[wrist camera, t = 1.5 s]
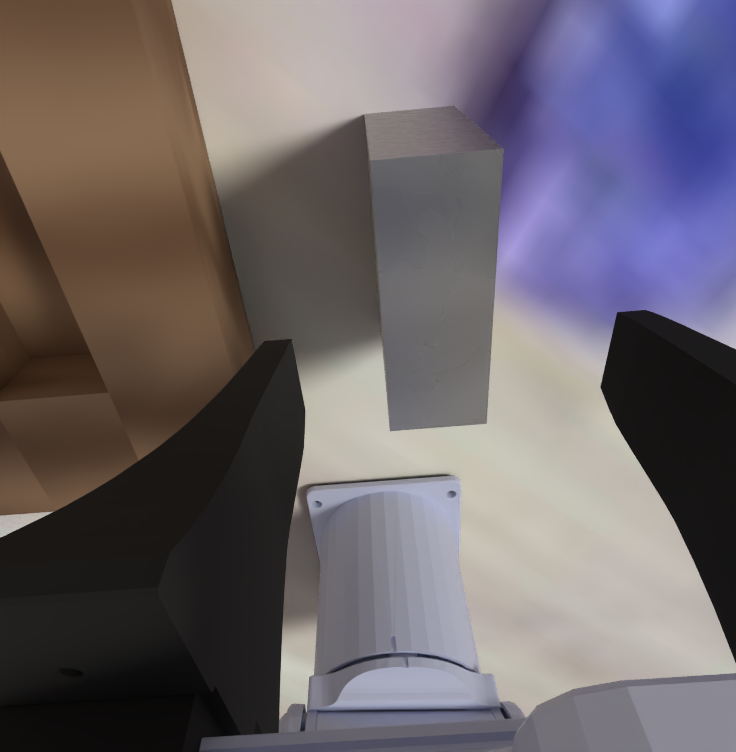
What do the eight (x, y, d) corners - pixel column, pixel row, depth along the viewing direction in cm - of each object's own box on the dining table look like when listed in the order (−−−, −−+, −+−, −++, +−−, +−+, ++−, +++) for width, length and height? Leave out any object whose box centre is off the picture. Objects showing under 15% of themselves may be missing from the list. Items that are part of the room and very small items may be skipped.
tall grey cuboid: (451, 317, 22) (486, 423, 16) (380, 323, 22) (390, 431, 16) (453, 105, 18) (503, 148, 12) (364, 114, 18) (369, 160, 12)
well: (276, 441, 26) (266, 495, 23) (-5, 463, 26) (-50, 519, 23) (119, -218, 13) (52, -285, 10) (-417, -159, 13) (-628, -208, 11)
